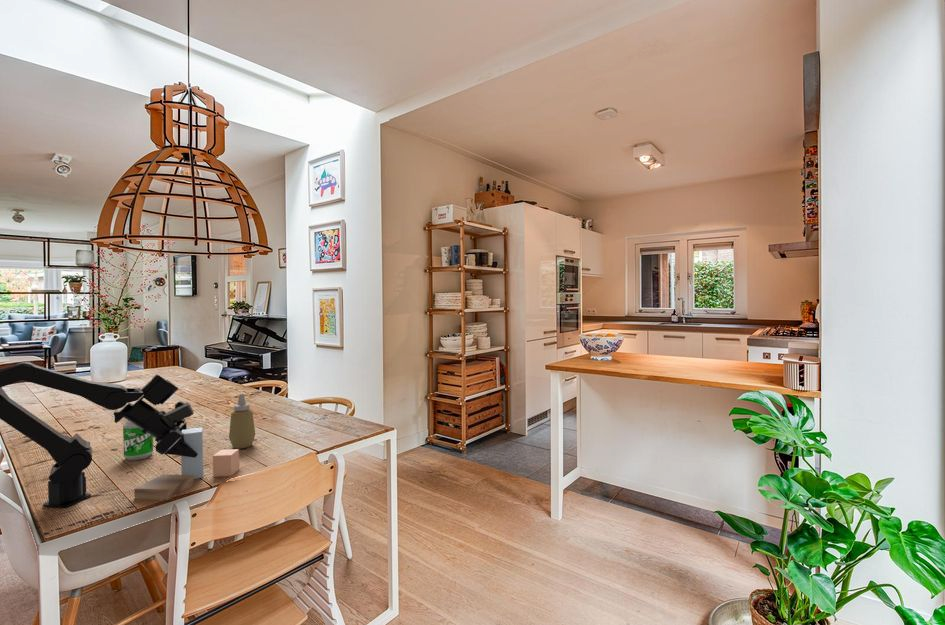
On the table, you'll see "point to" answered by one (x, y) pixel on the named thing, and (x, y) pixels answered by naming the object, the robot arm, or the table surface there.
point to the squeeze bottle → (241, 425)
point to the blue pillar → (196, 443)
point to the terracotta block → (226, 462)
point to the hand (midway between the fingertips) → (197, 451)
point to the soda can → (136, 442)
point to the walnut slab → (164, 487)
